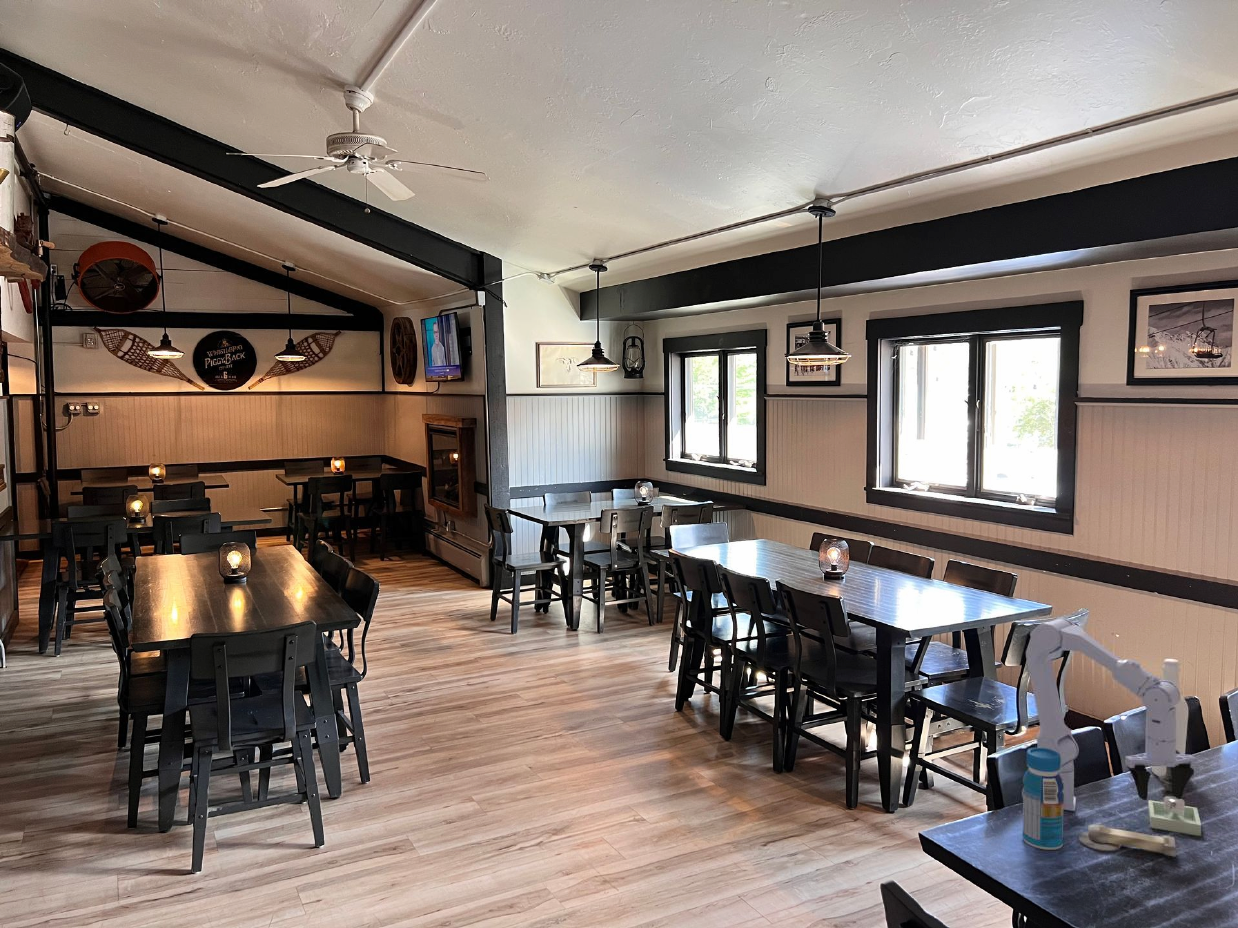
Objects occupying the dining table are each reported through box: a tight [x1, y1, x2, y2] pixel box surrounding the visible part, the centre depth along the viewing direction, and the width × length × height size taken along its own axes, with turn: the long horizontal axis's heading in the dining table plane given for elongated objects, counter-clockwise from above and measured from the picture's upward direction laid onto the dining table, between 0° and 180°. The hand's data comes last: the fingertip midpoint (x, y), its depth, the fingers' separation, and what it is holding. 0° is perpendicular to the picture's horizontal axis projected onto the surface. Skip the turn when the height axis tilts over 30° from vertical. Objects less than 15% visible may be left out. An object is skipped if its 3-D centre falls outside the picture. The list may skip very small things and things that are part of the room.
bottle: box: [1150, 658, 1189, 777], centre depth 231 cm, size 8×8×30 cm
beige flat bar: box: [1087, 824, 1177, 857], centre depth 194 cm, size 16×5×2 cm, turn 62°
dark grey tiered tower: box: [1158, 750, 1187, 800], centre depth 220 cm, size 6×6×12 cm
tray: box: [1147, 799, 1202, 837], centre depth 205 cm, size 10×10×2 cm
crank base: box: [1078, 830, 1121, 852], centre depth 197 cm, size 8×8×1 cm
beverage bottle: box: [1021, 747, 1065, 851], centre depth 197 cm, size 8×8×20 cm
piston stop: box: [1163, 796, 1186, 821], centre depth 205 cm, size 4×4×5 cm
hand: (1159, 797), depth 199 cm, fingers open, 7 cm apart
